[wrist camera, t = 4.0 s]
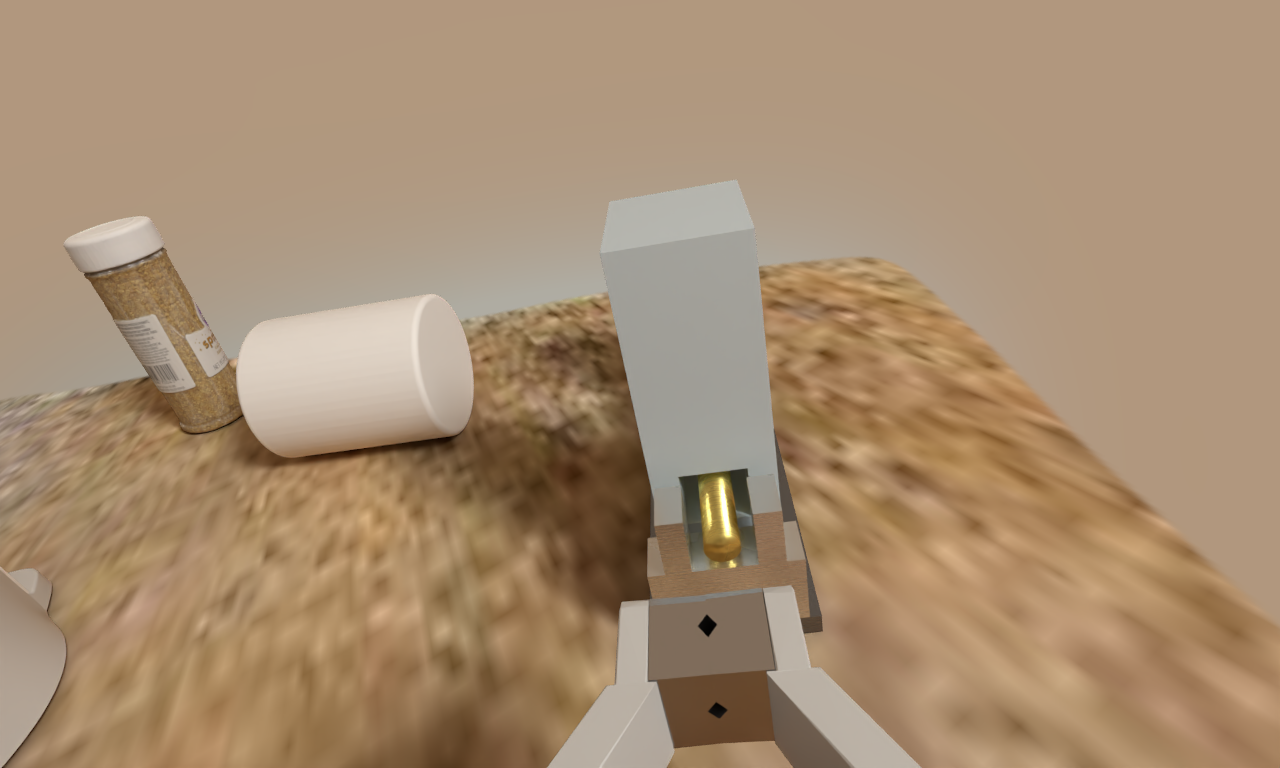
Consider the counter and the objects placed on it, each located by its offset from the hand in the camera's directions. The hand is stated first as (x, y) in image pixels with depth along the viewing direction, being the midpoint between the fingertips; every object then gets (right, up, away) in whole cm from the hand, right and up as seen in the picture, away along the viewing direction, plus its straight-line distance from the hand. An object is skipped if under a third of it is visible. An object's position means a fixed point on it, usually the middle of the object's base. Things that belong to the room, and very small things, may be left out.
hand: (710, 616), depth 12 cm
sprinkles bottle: (-30, +2, +35) cm, 46 cm away
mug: (-16, +2, +31) cm, 35 cm away
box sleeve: (+2, -1, +16) cm, 16 cm away
